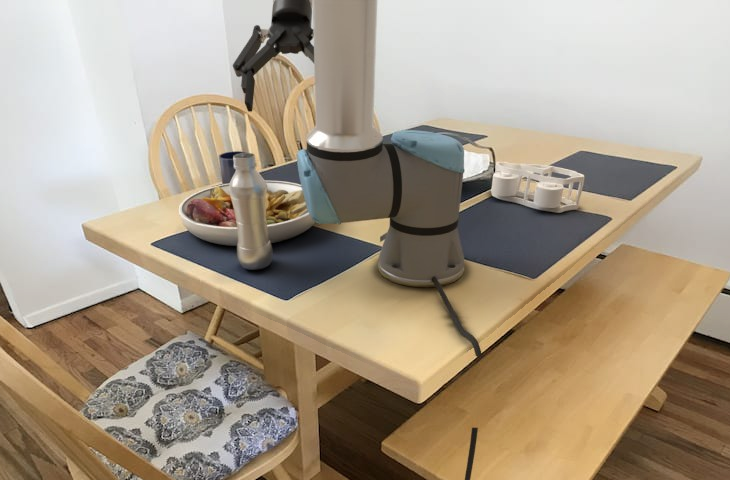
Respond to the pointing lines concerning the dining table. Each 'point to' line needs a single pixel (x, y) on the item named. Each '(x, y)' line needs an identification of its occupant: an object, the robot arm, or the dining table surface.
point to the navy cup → (227, 166)
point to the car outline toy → (546, 189)
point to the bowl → (218, 222)
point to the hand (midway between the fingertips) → (285, 107)
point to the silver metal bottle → (250, 213)
